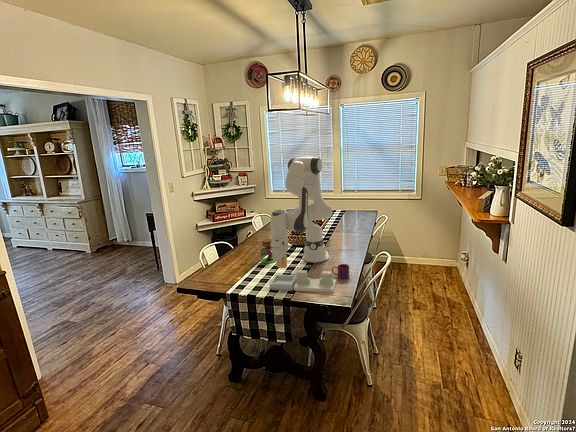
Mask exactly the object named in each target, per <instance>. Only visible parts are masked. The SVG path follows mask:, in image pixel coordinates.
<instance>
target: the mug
mask: <svg viewBox="0 0 576 432" xmlns="http://www.w3.org/2000/svg"><path fill="white" fill-rule="evenodd" d="M334 269H337V273H336V272H335V271H334ZM331 271H332V274H333V275H335V276H337V278H338V279H341V280H347V279H350V265H349V264H348V263H347V264H345V263H342V264H341V263H340V264H338V265H337V266H333V267H332V268H331Z"/></svg>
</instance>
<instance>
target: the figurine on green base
mask: <svg viewBox="0 0 576 432" xmlns="http://www.w3.org/2000/svg"><path fill="white" fill-rule="evenodd" d="M271 241H272V238H265V239H263V240H262V241H261V242H262V248H261V249H260V250H259V257H260V260H261V263H263V264H274V263H277V261H274V260H273V256H272V247H271V245H270V244H271ZM263 256H265V257H263ZM266 256H267V257H266ZM262 257H263V259H262Z"/></svg>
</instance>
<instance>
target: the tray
mask: <svg viewBox="0 0 576 432" xmlns="http://www.w3.org/2000/svg"><path fill="white" fill-rule="evenodd" d="M297 277H298V274H297V275H296V274H275V275H274V277H273V278H272V280H271V281H270V283H269V290H270V291H286V292H289V291H290V292H292V291H293V290H294V286H295V284H296V282H297V280H296V278H297Z"/></svg>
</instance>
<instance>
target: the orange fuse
mask: <svg viewBox="0 0 576 432" xmlns="http://www.w3.org/2000/svg"><path fill="white" fill-rule="evenodd" d="M287 257H288V256H287V254H286V253H285V254H284V255H283V257H282V261H283V263H282V264H279V261H276V265H277V266H276V267H277V269H287V268H288V262H287V261H288V259H287Z"/></svg>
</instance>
